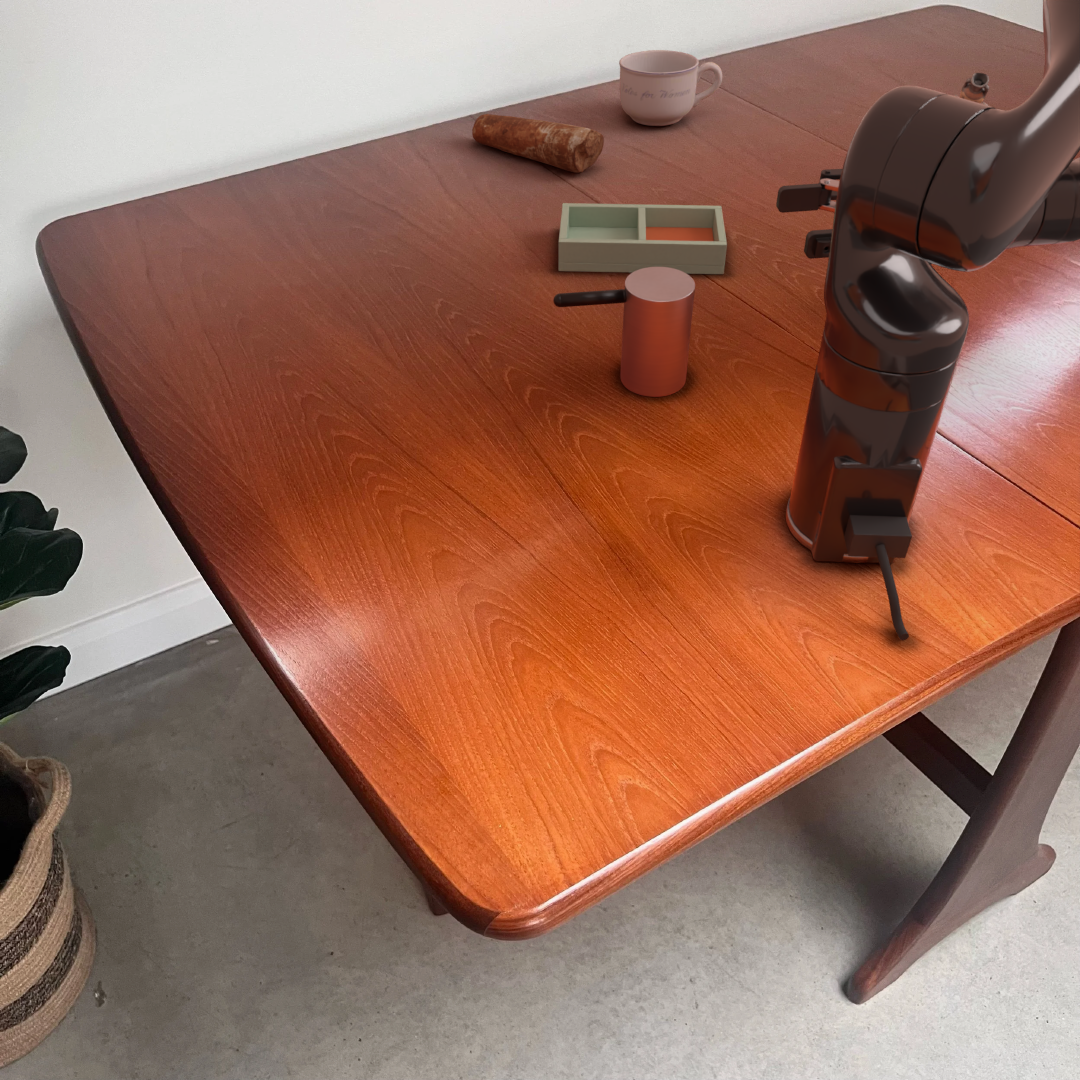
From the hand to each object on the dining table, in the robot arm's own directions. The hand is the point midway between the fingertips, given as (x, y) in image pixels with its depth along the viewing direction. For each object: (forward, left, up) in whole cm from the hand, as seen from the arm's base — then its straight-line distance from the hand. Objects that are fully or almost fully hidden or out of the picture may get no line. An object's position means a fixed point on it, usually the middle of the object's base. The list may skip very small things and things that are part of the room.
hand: (791, 221), depth 90 cm
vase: (+65, -34, -15) cm, 75 cm away
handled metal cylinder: (-3, +14, -15) cm, 21 cm away
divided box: (+23, +12, -15) cm, 30 cm away
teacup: (+62, +8, -15) cm, 64 cm away
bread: (+48, +26, -15) cm, 57 cm away
